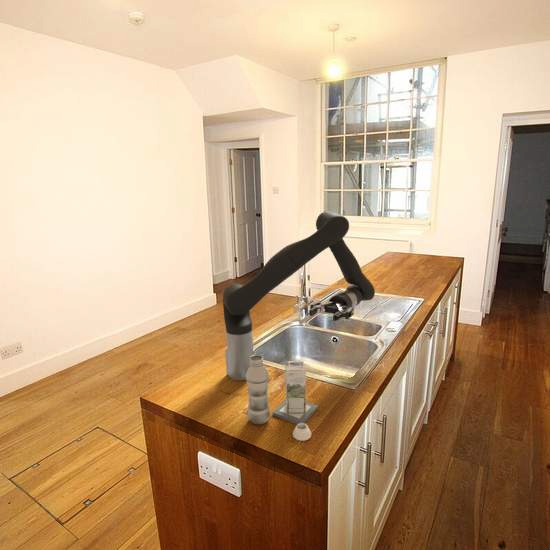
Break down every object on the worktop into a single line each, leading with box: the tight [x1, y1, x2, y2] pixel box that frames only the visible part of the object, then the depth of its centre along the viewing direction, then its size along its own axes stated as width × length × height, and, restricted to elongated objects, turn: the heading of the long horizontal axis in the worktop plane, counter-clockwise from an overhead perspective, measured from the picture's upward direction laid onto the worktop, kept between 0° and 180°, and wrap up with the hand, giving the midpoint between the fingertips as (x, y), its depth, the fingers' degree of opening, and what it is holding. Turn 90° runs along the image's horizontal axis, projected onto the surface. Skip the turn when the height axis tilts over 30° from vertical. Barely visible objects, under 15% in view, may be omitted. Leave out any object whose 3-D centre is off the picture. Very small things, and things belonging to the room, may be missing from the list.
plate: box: [272, 400, 319, 425], centre depth 115 cm, size 10×10×1 cm
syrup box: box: [284, 360, 307, 414], centre depth 113 cm, size 6×6×14 cm
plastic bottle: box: [245, 354, 271, 425], centre depth 109 cm, size 6×7×20 cm
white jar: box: [292, 423, 312, 442], centre depth 104 cm, size 5×3×5 cm
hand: (322, 315), depth 124 cm, fingers open, 8 cm apart
